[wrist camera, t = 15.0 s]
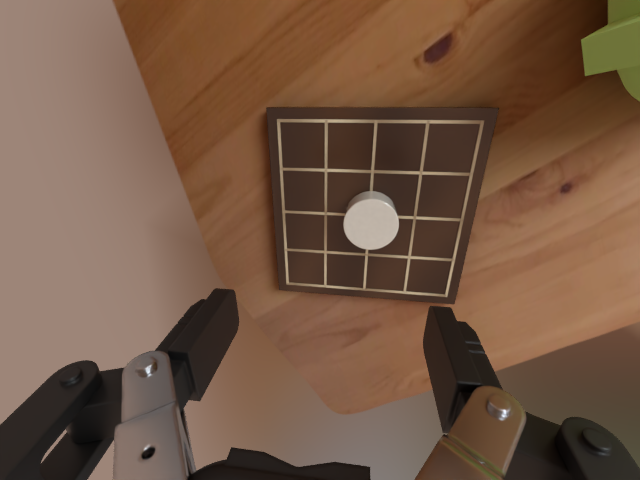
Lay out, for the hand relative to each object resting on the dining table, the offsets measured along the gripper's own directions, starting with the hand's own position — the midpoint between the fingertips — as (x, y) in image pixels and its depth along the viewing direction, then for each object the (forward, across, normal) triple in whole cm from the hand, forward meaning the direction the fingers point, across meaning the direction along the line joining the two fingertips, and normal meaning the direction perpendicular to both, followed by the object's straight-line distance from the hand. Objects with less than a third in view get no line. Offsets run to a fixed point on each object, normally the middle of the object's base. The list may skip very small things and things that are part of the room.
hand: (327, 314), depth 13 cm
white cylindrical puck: (+16, -2, +2) cm, 16 cm away
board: (+18, -2, +2) cm, 18 cm away
